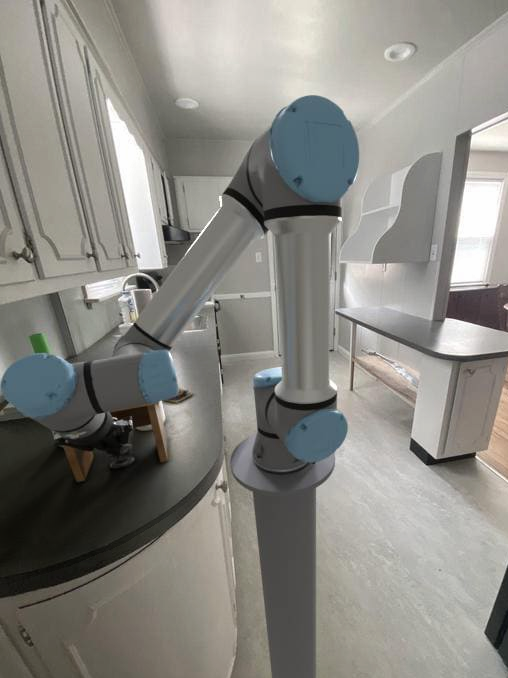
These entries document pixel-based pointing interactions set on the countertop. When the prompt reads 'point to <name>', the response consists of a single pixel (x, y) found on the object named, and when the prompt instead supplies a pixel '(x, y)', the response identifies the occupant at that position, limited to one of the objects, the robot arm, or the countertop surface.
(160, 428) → the desk
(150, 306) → the robot arm
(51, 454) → the countertop surface
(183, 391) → the brown sandwich
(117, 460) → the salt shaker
